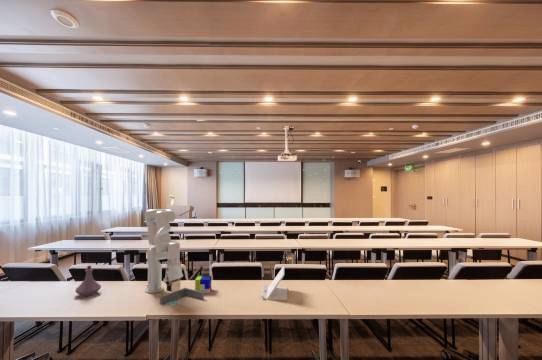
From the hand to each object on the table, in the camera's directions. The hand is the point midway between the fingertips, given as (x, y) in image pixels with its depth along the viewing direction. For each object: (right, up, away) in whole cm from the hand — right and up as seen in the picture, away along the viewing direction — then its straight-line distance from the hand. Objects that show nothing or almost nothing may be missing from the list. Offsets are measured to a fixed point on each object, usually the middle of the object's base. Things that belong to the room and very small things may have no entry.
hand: (173, 289), depth 185 cm
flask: (-67, -11, +18) cm, 70 cm away
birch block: (0, -1, 0) cm, 1 cm away
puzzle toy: (+14, -11, +24) cm, 30 cm away
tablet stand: (+66, -11, +20) cm, 70 cm away
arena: (+5, -10, +3) cm, 11 cm away
